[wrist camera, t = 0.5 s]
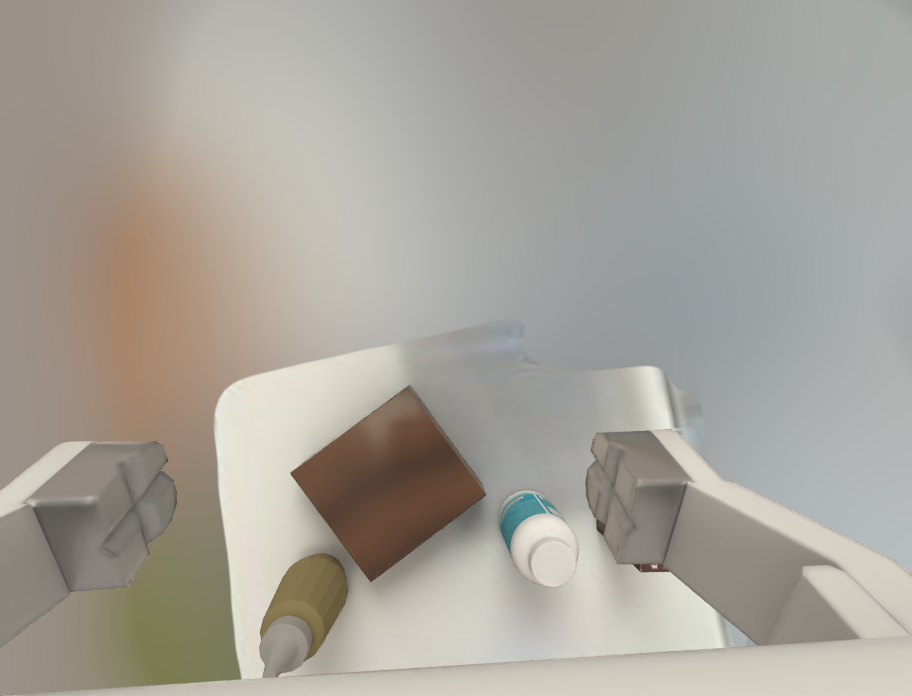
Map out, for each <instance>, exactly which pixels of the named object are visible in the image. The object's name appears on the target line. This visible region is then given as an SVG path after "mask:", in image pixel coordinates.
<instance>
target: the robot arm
mask: <svg viewBox="0 0 912 696" xmlns="http://www.w3.org/2000/svg"><path fill="white" fill-rule="evenodd" d="M591 451H592V453H593V455H594V457H595V458H596V461H595V462H594V463H593V464H592V465H591V466H590V467H589V468H588V469H587V476H586V495H587V500H588V503H589V507H590V509H591V511H592V513H593V516H594V517H595V518H596V519H598V520H599V521H600V522H602V523H603V524H605V528H604V533H603V536H604V538H605V540H606V542H607V544H608V546H609V548H610V550H611V552H612V554H613V556H614V558H615V560H616V562H617V564H664V565H663V566H664V567H665V568H666V569H667V570H669V571H670V572H671V573H672V574H673V575H675V576H676V577H677V578H678V579H679V580H681V581H682V582H683V583H684V584H685V585H686V586H688V587H689V588H690V589H691V590H692V591H694V592H695V593H696V594H697V595H698V596H700V597H701V598H702V599H703V600H704V601H705V602H707V603H708V604H709V605H710V606H711V607H713V608H714V609H715V610H716V611H717V612H719V613H720V614H721V615H722V616H723V617H724V618H726V619H727V620H728V621H729V622H730V623H732V624H733V625H734V626H735V627H736V628H738V629H739V630H740V631H741V632H742V633H744V634H745V635H746V636H747V637H748V638H749V639H751V640H752V641H753V642H754V643H755V644H757V645H758V646H746V647H731V648H716V649H700V650H685V651H670V652H655V653H639V654H624V655H609V656H594V657H578V658H563V659H548V660H533V661H517V662H502V663H487V664H472V665H457V666H441V667H426V668H411V669H396V670H381V671H366V672H350V673H335V674H320V675H305V676H290V677H275V678H259V679H244V680H230V681H213V682H198V683H183V684H168V685H153V686H137V687H122V688H106V689H91V690H76V691H62V692H61V691H60V692H47V693H46V692H45V693H30V694H16V695H0V696H912V574H911V573H909V572H908V571H907V570H906V569H905V568H904V567H902V566H901V565H900V564H899V563H898V562H897V561H895V560H894V559H892V558H890V557H888V556H885V555H883V554H881V553H879V552H877V551H875V550H873V549H871V548H869V547H867V546H864V545H863V544H860V543H858V542H857V541H854V540H852V539H850V538H848V537H846V536H844V535H842V534H840V533H838V532H836V531H834V530H831V529H830V528H827V527H825V526H823V525H821V524H819V523H817V522H815V521H813V520H811V519H809V518H807V517H805V516H803V515H800V514H798V513H796V512H794V511H792V510H790V509H788V508H786V507H784V506H782V505H780V504H778V503H776V502H774V501H771V500H769V499H767V498H765V497H763V496H761V495H759V494H757V493H755V492H753V491H751V490H749V489H747V488H744V487H742V486H740V485H738V484H736V483H734V482H724V481H723V480H722V479H721V478H720V477H719V476H718V475H717V474H716V473H715V472H714V470H713V469H712V468H711V467H710V466H709V465H708V464H707V463H706V462H705V461H704V460H703V459H702V458H701V457H700V456H699V455H698V454H697V453H696V451H695V450H694V449H693V448H692V447H691V446H690V445H689V444H688V443H687V442H686V441H685V440H684V439H683V438H682V437H681V436H680V435H679V434H678V432H676V431H673V430H671V429H664V430H646V431H632V432H605V433H596V435H595V437H594V439H593V442H592V447H591ZM167 462H168V458H167V455H166V452H165V450H164V446H163V445H162V444H160V443H158V442H156V441H98V442H95V441H81V442H67V443H63V444H58V445H57V446H56V447H55V448H53V449H52V450H51V451H50V452H48V453H47V454H46V455H45V456H44V457H42V458H41V459H40V460H38V461H37V462H36V463H35V464H33V465H32V466H31V467H30V468H29V469H27V470H26V471H25V472H23V473H22V474H21V475H20V476H18V477H17V478H16V479H15V480H13V481H12V482H11V483H10V484H8V485H7V486H6V487H5V488H3V489H2V490H1V491H0V648H1V647H2V646H3V645H5V644H6V643H7V642H9V641H10V640H11V639H13V638H14V637H15V636H17V635H18V634H19V633H21V632H22V631H23V630H25V629H26V628H27V627H28V626H30V625H31V624H32V623H34V622H35V621H36V620H38V619H39V618H40V617H42V616H43V615H44V614H46V613H47V612H48V611H50V610H51V609H52V608H54V607H55V606H56V605H58V604H59V603H60V602H62V601H63V600H64V599H65V598H67V597H68V596H69V595H70V592H75V591H87V590H88V591H89V590H102V589H114V588H127V587H128V586H129V584H130V583H131V581H132V580H133V578H134V577H135V575H136V574H137V572H138V571H139V569H140V568H141V566H142V565H143V563H144V562H145V560H146V559H147V557H148V556H149V555H150V552H149V548H148V543H150V542H151V541H153V540H154V539H156V538H157V537H159V536H160V535H162V534H163V533H164V532H165V530H166V528H167V527H168V526H169V524H170V522H171V521H172V518H173V515H174V511H175V508H176V504H177V499H176V498H177V495H176V494H177V492H176V487H175V484H174V480H173V479H171V478H170V477H169V476H168V475H167V474H166V473H164V472H163V471H162V470H163V468H164V467H165V465H166V463H167Z"/></svg>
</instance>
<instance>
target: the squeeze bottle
mask: <svg viewBox="0 0 912 696" xmlns="http://www.w3.org/2000/svg"><path fill="white" fill-rule="evenodd" d="M347 593H348V588H347V582H346V577H345V573H344V569H343V567H342V565H341V564H340V562H339V561H338V560H337V559H336V558H334V557H333V556H331V555H327V554H323V553H322V554H316V555H312V556H309V557H306V558H304V559H301V560H300V561H298V562H297V563H295V564H294V565H292V566H291V567H290V568H289V569H288V571H287V572H286V574H285V575H284V576H283V578H282V580H281V582H280V584H279V587H278V589H277V591H276V593H275V595H274V597H273V599H272V601H271V604H270V606H269V608H268V610H267V612H266V614H265V616H264V618H263V621H262V626H261V630H260V635H261V643H260V647H259V650H260V656H261V659H262V661H263V662H264V664H265V668H264V672H263V678H275V677H278V676H279V675H280V674H281V673H285V672H290V671H293V670H295V669H296V668H298V667H299V666H301V664H302V663H303V662H304V661H306V660H307V659H309V658H310V657H312V656H313V655H315V653H316V652H317V650H318V649H319V648H320V646H321V645H322V643H323V641H324V640H325V638H326V636H327V634H328V633H329V631H330V629H331V627H332V626H333V624H334V622H335V620H336V619H337V617H338V615H339V613H340V612H341V610H342V608H343V606H344V605H345V601H346V597H347Z"/></svg>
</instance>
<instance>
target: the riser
mask: <svg viewBox="0 0 912 696" xmlns="http://www.w3.org/2000/svg"><path fill="white" fill-rule="evenodd" d="M290 474H291V475H292V477H293V478H294V479H295V481H296V482H297V483H298V485H299V486H300V487H301V489H302V490H303V491H304V493H305V494H306V495H307V497H308V498H309V500H310V501H311V502H312V504H313V505H314V506H315V508H316V509H317V510H318V512H319V513H320V514H321V516H322V517H323V518H324V520H325V521H326V522H327V524H328V525H329V527H330V528H331V529H332V531H333V532H334V533H335V535H336V536H337V537H338V539H339V540H340V541H341V543H342V544H343V545H344V547H345V548H346V549H347V551H348V552H349V554H350V555H351V556H352V558H353V559H354V560H355V562H356V563H357V564H358V566H359V567H360V568H361V570H362V571H363V572H364V574H365V575H366V576H367V578H368V579H369V581H370V582H372V581H373V580H374V579H376V578H377V577H378V576H380V575H381V574H382V573H384V572H385V571H386V570H388V569H389V568H390V567H392V566H393V565H394V564H396V563H397V562H398V561H400V560H401V559H402V558H404V557H405V556H406V555H407V554H409V553H410V552H411V551H413V550H414V549H415V548H417V547H418V546H419V545H421V544H422V543H423V542H425V541H426V540H427V539H429V538H430V537H431V536H433V535H434V534H435V533H437V532H438V531H439V530H441V529H442V528H443V527H444V526H446V525H447V524H448V523H450V522H451V521H452V520H454V519H455V518H456V517H458V516H459V515H460V514H462V513H463V512H464V511H466V510H467V509H468V508H470V507H471V506H472V505H474V504H475V503H476V502H478V501H479V500H480V499H481V498H483V497H484V496H485V495H486V493H485V490H484V487H483V484H482V482H481V481H480V480H479V478H478V477H477V476H476V474H475V473H474V471H473V470H472V469H471V467H470V466H469V465H468V463H467V462H466V461H465V459H464V458H463V456H462V455H461V454H460V452H459V451H458V450H457V448H456V447H455V446H454V444H453V443H452V442H451V440H450V439H449V437H448V436H447V435H446V433H445V432H444V431H443V429H442V428H441V427H440V425H439V424H438V422H437V421H436V420H435V418H434V417H433V416H432V414H431V413H430V412H429V410H428V409H427V407H426V406H425V405H424V403H423V402H422V401H421V399H420V398H419V397H418V395H417V394H416V393H415V391H414V390H413V388H412V387H411V386H410V385H408V386H407V387H406V388H404V389H403V390H402V391H400V392H399V393H398V394H397V395H395V396H394V397H393V398H391V399H390V400H389V401H387V402H386V403H385V404H383V405H382V406H381V407H379V408H378V409H376V410H375V411H374V412H372V413H371V414H370V415H368V416H367V417H366V418H364V419H363V420H361V421H360V422H359V423H357V424H356V425H355V426H353V427H352V428H351V429H349V430H348V431H347V432H345V433H344V434H342V435H341V436H340V437H338V438H337V439H336V440H334V441H333V442H332V443H330V444H329V445H327V446H326V447H325V448H323V449H322V450H321V451H319V452H318V453H317V454H314V455H313V456H312V457H310V458H309V459H308V460H306V461H305V462H304V463H302V464H301V465H300V466H298V467H297V468H296V469H295V470H293V471H292V472H291V473H290Z"/></svg>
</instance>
